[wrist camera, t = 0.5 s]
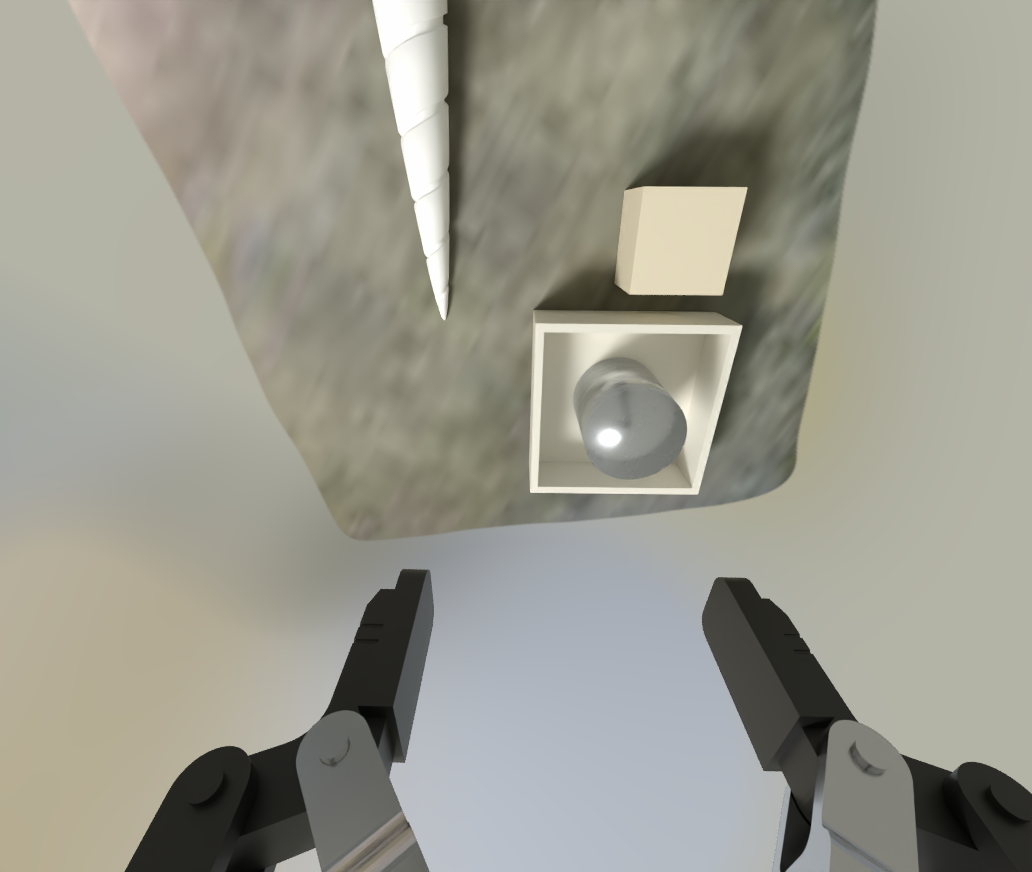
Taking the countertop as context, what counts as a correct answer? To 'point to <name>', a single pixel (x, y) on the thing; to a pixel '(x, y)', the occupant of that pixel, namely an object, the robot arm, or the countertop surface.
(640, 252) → the carton
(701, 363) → the box
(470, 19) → the countertop surface
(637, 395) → the tin can
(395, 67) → the unicorn horn
